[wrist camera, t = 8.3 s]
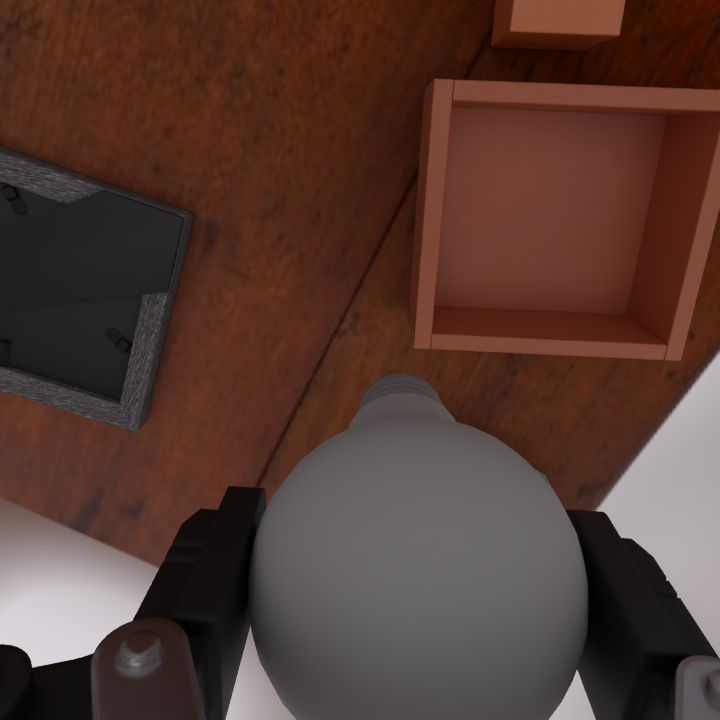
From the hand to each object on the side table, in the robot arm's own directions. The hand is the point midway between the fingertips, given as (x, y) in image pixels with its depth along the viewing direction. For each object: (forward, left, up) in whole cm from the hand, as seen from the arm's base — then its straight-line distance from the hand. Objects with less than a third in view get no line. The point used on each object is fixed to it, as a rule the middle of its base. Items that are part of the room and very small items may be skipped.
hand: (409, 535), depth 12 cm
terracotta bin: (-7, -4, -22) cm, 23 cm away
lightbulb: (0, 0, -7) cm, 7 cm away
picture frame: (+21, 0, -22) cm, 31 cm away
